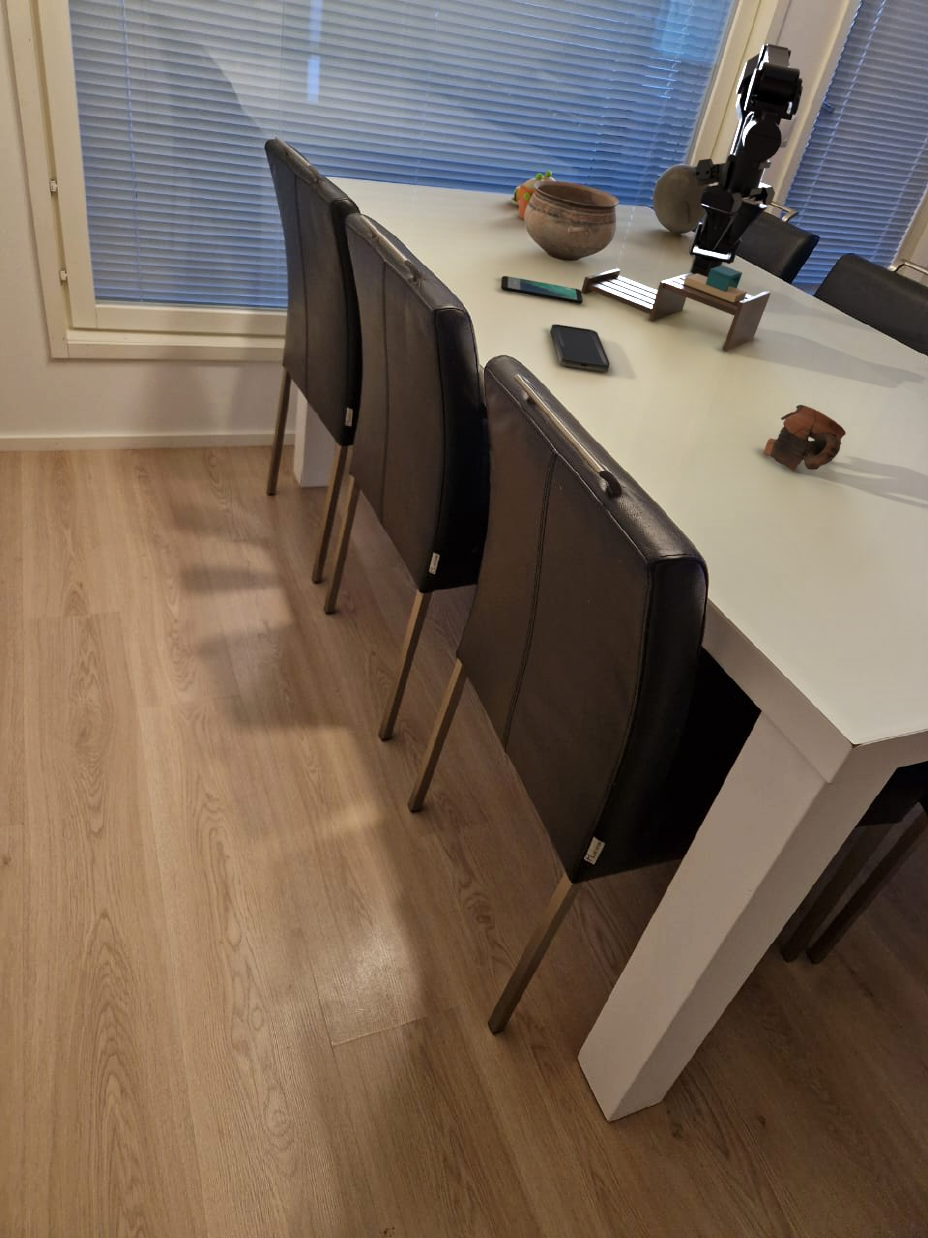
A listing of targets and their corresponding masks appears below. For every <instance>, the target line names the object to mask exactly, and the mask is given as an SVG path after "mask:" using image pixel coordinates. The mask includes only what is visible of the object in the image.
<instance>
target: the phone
mask: <svg viewBox="0 0 928 1238" xmlns="http://www.w3.org/2000/svg"><path fill="white" fill-rule="evenodd" d="M549 331H550V332H549V334H550V337H551V340H552V343H553V347H554V351H555V354H556V357H557V361H558V364H559V365H560V366H562V367H567V368H573V369H580V370H585V371H586V370H587V371H593V372H598V373H599V372H601V373H607V372H608V371H609V368H610V365H611V363H610V361H609V358H608V356H607V353H606V350H605V348H604V346H603V343H602V341H601V338H600V336H599V333H598V331H596V330H593V329H590V328H583V327H577V326H571V325H563V324H556V323H554V324H551V327H550V330H549Z"/></svg>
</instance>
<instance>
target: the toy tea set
mask: <svg viewBox="0 0 928 1238" xmlns="http://www.w3.org/2000/svg"><path fill="white" fill-rule="evenodd" d="M543 180H552V181H556V180H555V179H554V178H553V177H552V171H551V170H547V171H546V172H545V174H544V175H543V174H542V173H540V172H538V173H536V175H535V177H533V178H530V179H528V180H526V181H525V182H523V183H521V184H520V185H518V186H515V189H514V190H513V197H511V198H510V202H511V203H512V204H514V205H515V206H517V207H518V216H519V217H520V218H521V219H522V220H524V214H525V209H526V207H527V204H528V202H529V200H530V198H531V196H532V195H533V193H534V192H535V190H536V189H535V187H534V183H535V182H537V181H543Z"/></svg>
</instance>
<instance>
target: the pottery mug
mask: <svg viewBox="0 0 928 1238" xmlns="http://www.w3.org/2000/svg"><path fill="white" fill-rule="evenodd" d="M781 420H782V421H783V423H782V424H783V426H782V427H781V429H780V431H779V434H778V437H777V438H769V439H768V440H767V442H766V444H765V447H764V450H763V452H762V453H763V454H764V455H767V456H768V457H770V458H772V459H774V460H775V461H776V462H777V463H779V464H781V465H782V466H784V467H785V468H787V469H789V470H790V471H793V472H795V471H796V469H797V468H798V467H799V465H800V464H802V462H803V464H804V467H805V468H806V469H807V470H809V471H810V470H812V471H814V470H815V471H816V470H818V469H819V468H820V467H823V466H825V465H827V464H829V463H830V462H832V461H833V460H834V459H835V458H836V457H837V455H838V454H839V452H840V451H841V445H842V439H843V437H845V436H846V434H847V432H846V430H845V429H844V428H843V427H842V425H841V424H839V423H838V422H837V421H835V420H834V419H833V418H831V417H829V416H828V415H826V414H825V413H824V412H823V413H822V412H821V411H820V410H816V409H815V408H813V407H809V406H807V405H804V404H798V405H796V406H795V411H792V412H789V413H787V414H785V415H783V416H782V417H781V418H780V421H781ZM809 438H810V439H812V440H809Z"/></svg>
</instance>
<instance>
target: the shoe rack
mask: <svg viewBox="0 0 928 1238" xmlns="http://www.w3.org/2000/svg"><path fill="white" fill-rule="evenodd" d="M620 274H621V269H619V268H615V269H614V268H613V269H611V270H607V271H604V272H600V273H599V272H598V273H595V274H591V275H588V276H585V277H584V278H583V283H582V286H581V290H580V291H581V295H588V294H590V293H596V294H598V295H600V296H603V297H606V298H608V299H611V300H613V301H615V302H618V303H621V304H623V305H625V306H628V307H631V308H634V309H636V310H638V311H641V312H643V313H646V314H648V315H649V318H648V322H651V323H654V322H656V321H659V320H661V319H662V320H663V319H664V318H667V317H670V316H673V315H676V314H679V313H682V312H683V310H684V307H685V303H686V301H687V299H690V300H692V301H695V302H697V303H700V304H703V305H705V306H708V307H711V308H713V309H715V310H719V311H721V312H723V313H727V314H729V315H731V316H733V318H732V320H731V324H730V326H729V329H728V331H727V334H726V337H725V341H724V343H723V346H722V348H721V351H723V352H725V353H726V352H729V351H731V350H733V349H735V348H738V347H740V346H741V345H744V344H746V343H748V342H750V341H752V340H754V339H755V335H756V333H757V330H758V328H759V325H760V323H761V320H762V317H763V315H764V311H765V309H766V306H767V304H768V302H769V299H770V297H771V291H763V292H761V293H759V294H756V295H754V296H753V295H751V294H748V293H746V296H745V299H742V300H740V301H737V302H734V303H733V302H731V301H728V300H725V299H723V298H720V297H717V296H715V295H712V294H709V293H707V292H704V291H702V290H699V289H696V288H694V287H691V286H688V285H686V284H684V281H685V278H686V277H687V276H691V275H694V274H693V273H690V272H687V273H685V274H681V275H678V276H675V277H672V278H668V279H665V280H662V281H661V280H660V281H659V284H658V288H657V289H654V288H652V287H649V286H647V285H644V284H642V283H639V282H636V281H633V280H631V279H629V278H626V277H623V276H621V275H620Z"/></svg>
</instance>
